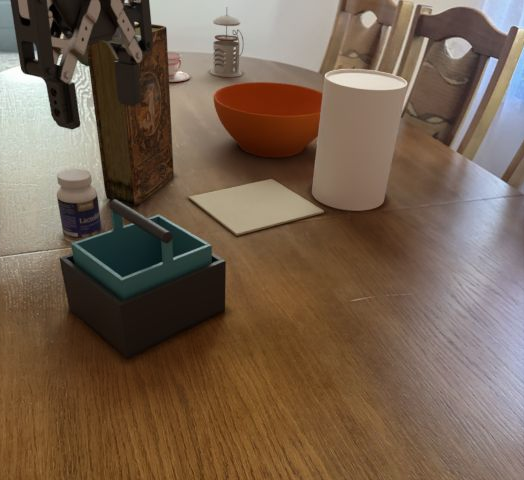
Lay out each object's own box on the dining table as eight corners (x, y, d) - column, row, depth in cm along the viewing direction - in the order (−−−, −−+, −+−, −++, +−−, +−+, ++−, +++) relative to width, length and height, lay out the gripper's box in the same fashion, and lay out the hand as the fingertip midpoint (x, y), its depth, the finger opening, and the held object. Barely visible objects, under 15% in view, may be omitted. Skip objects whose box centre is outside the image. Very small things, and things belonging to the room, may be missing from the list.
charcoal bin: (127, 359, 64) (119, 305, 60) (69, 310, 71) (58, 257, 67) (225, 311, 73) (225, 260, 68) (165, 271, 80) (161, 222, 75)
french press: (228, 67, 177) (229, -27, 162) (252, 75, 171) (256, -22, 155) (203, 71, 172) (202, -27, 156) (227, 79, 166) (229, -22, 150)
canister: (370, 179, 111) (390, 69, 98) (394, 209, 100) (420, 90, 88) (304, 181, 109) (316, 68, 96) (321, 211, 98) (337, 89, 86)
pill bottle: (88, 248, 84) (78, 184, 78) (56, 240, 85) (44, 177, 79) (109, 232, 88) (102, 170, 82) (78, 225, 89) (68, 163, 83)
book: (151, 169, 109) (140, 22, 93) (176, 174, 108) (170, 26, 92) (106, 202, 97) (84, 38, 81) (134, 207, 95) (118, 43, 80)
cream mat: (236, 236, 89) (236, 233, 89) (188, 198, 99) (188, 196, 99) (323, 213, 98) (324, 210, 98) (271, 180, 108) (271, 178, 108)
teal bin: (129, 346, 65) (117, 249, 57) (81, 306, 71) (65, 213, 63) (212, 307, 73) (211, 216, 65) (163, 274, 78) (157, 186, 70)
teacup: (139, 77, 162) (137, 53, 159) (167, 70, 170) (166, 47, 166) (170, 85, 157) (169, 61, 154) (198, 78, 165) (197, 54, 162)
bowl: (229, 122, 134) (230, 77, 128) (333, 135, 131) (339, 89, 125) (199, 158, 115) (198, 107, 109) (320, 174, 112) (326, 122, 105)
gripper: (96, -111, 48) (117, 91, 58) (-44, -120, 38) (10, 127, 48) (170, -105, 45) (177, 105, 56) (41, -114, 35) (79, 145, 46)
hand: (100, 115), depth 52 cm, fingers open, 8 cm apart
